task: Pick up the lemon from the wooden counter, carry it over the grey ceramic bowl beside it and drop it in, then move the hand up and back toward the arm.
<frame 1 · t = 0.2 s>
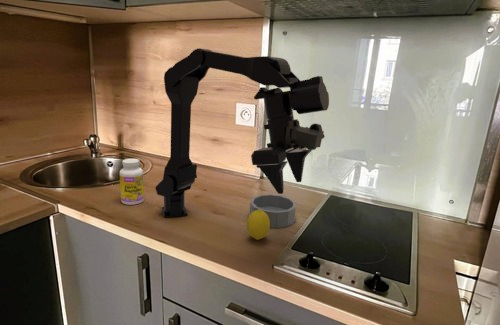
hand: (290, 187, 71), 15 cm above the worktop, tool pointing down, fingers open, 9 cm apart
lemon: (257, 240, 79), on the worktop
supplement bottle: (133, 201, 98), on the worktop
bowl: (272, 217, 91), on the worktop
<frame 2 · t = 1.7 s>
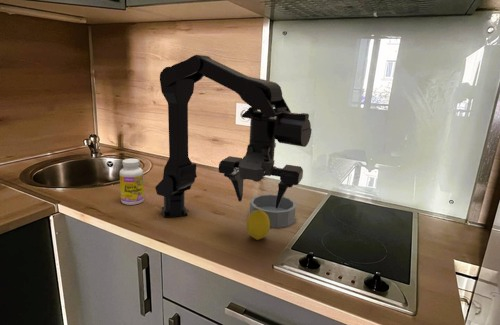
hand: (258, 204, 76), 10 cm above the worktop, tool pointing down, fingers open, 9 cm apart
nothing on the worktop moved.
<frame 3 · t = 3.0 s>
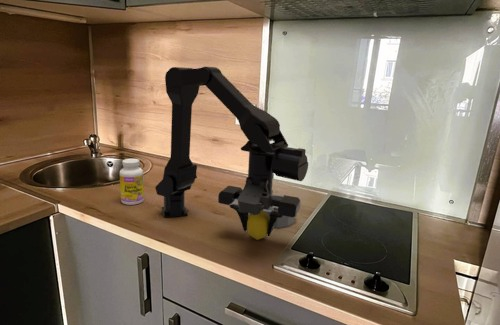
hand: (257, 233, 78), 2 cm above the worktop, tool pointing down, fingers closed on lemon, 6 cm apart
lemon: (257, 240, 79), on the worktop, touching gripper
everything else where it was.
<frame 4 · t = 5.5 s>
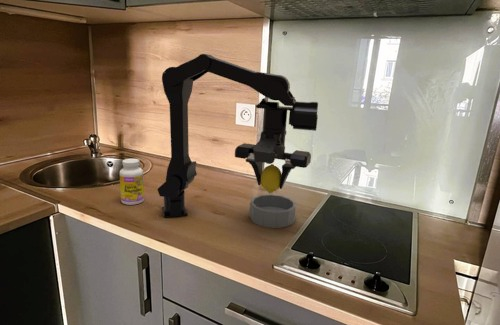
hand: (270, 186, 84), 11 cm above the worktop, tool pointing down, fingers closed on lemon, 5 cm apart
lemon: (270, 194, 85), point 9 cm above the worktop, touching gripper
everything else where it was.
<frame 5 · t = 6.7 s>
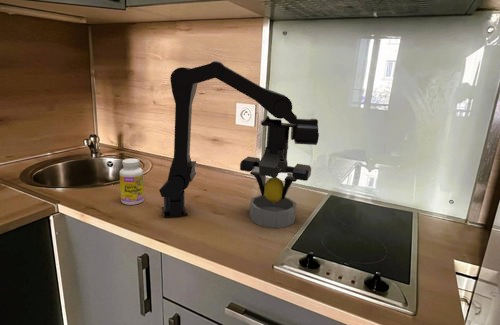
hand: (273, 197, 90), 6 cm above the worktop, tool pointing down, fingers closed on lemon, 5 cm apart
lemon: (273, 204, 91), point 4 cm above the worktop, touching gripper
everything else where it was.
when the fingers open (5 cm above the worktop, at t = 7.6 s): lemon drops 2 cm, resting on bowl.
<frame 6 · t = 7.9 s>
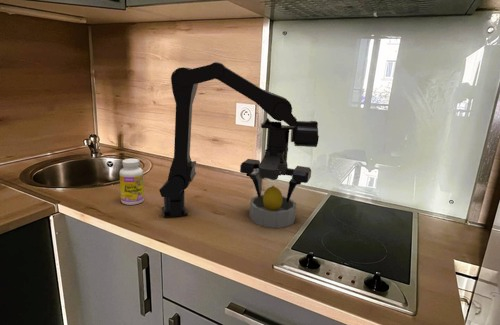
hand: (273, 199, 90), 5 cm above the worktop, tool pointing down, fingers open, 8 cm apart
lemon: (272, 213, 92), point 1 cm above the worktop, touching bowl
everything else where it was.
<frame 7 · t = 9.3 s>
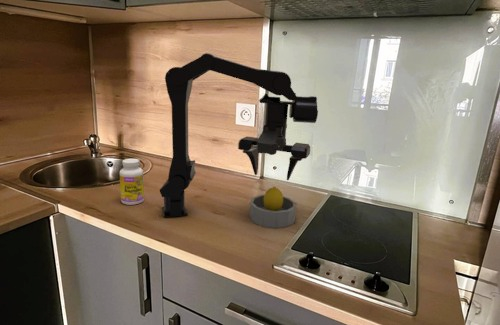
hand: (271, 177, 89), 12 cm above the worktop, tool pointing down, fingers open, 9 cm apart
nothing on the worktop moved.
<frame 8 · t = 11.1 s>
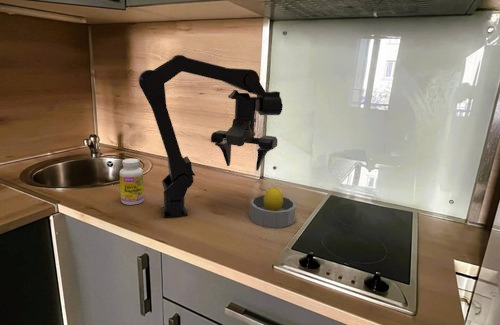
hand: (242, 168, 95), 12 cm above the worktop, tool pointing down, fingers open, 9 cm apart
nothing on the worktop moved.
at the end: lemon inside the target area on the bowl (0.5 cm from its centre), point 0.8 cm above the bowl's base; the gripper is holding nothing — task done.
